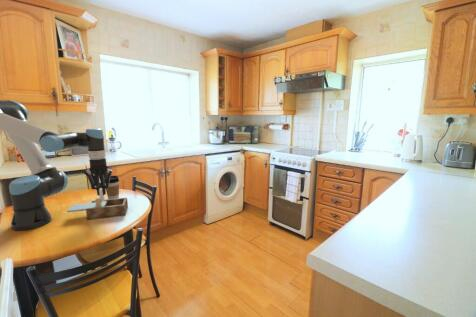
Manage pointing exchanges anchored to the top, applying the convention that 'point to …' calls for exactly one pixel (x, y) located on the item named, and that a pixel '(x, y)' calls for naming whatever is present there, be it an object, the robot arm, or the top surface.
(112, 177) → the coffee cup
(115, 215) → the box
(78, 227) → the top surface
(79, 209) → the lid
